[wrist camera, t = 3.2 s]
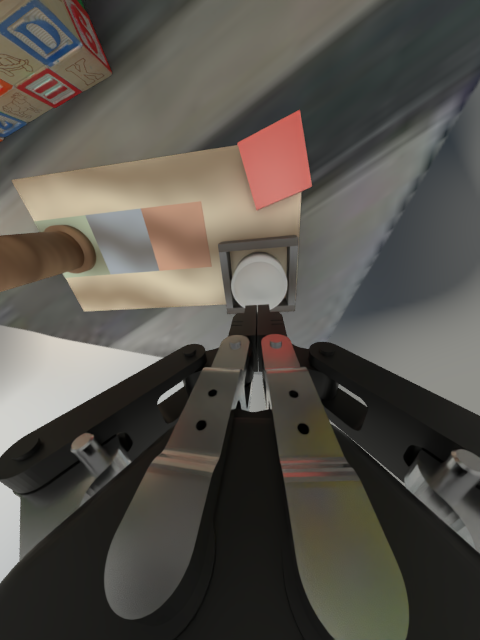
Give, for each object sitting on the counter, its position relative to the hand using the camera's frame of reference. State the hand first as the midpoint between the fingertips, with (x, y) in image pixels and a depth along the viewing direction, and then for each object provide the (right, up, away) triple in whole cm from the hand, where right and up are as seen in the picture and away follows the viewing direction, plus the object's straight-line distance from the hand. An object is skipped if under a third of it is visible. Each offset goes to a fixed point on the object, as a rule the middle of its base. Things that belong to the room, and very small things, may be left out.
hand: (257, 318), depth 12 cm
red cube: (+2, +12, +4) cm, 13 cm away
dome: (+1, +4, +7) cm, 8 cm away
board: (-9, +8, +8) cm, 14 cm away
